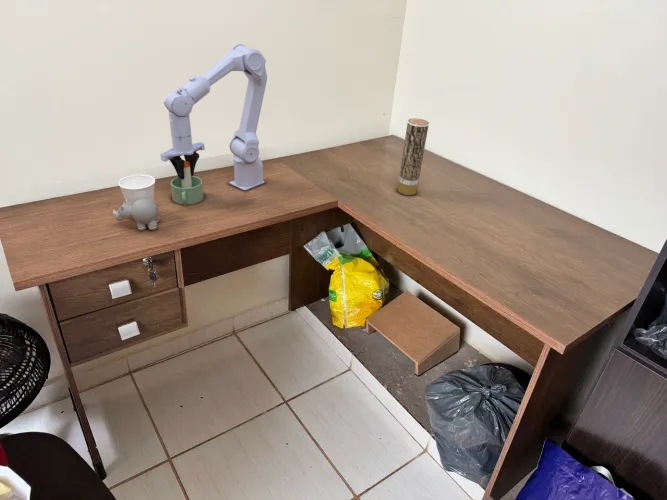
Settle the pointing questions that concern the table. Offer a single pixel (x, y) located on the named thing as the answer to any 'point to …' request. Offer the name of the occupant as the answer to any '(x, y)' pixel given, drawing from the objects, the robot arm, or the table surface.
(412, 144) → the paper tube
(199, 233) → the table surface
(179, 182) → the mug
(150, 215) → the chubby cartoon animal
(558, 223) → the table surface
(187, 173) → the glue stick
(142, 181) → the cup
